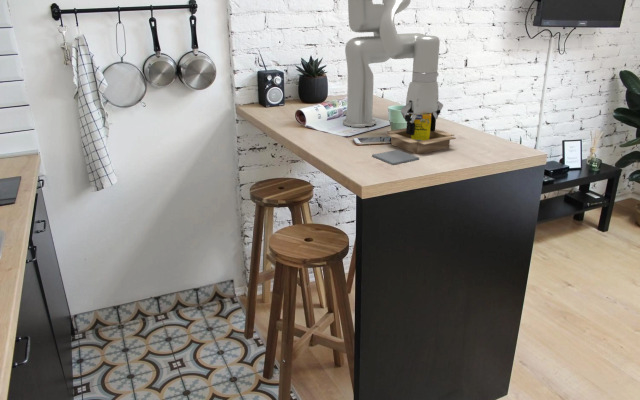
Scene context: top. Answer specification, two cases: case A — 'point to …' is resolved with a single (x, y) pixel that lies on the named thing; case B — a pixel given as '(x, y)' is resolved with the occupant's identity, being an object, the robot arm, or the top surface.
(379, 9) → the robot arm
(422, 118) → the supplement box
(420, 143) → the carton
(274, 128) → the top surface
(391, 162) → the coaster
